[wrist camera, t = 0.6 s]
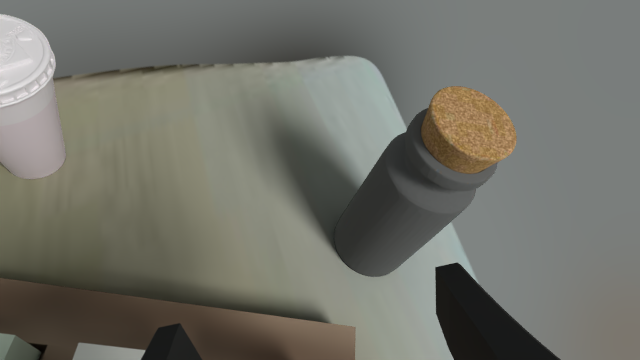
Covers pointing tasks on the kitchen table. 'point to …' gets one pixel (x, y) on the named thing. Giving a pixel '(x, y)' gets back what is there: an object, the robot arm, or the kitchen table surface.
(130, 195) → the kitchen table surface
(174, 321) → the brown wooden tray
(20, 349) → the green cube
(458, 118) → the bottle
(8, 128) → the smoothie
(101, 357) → the white cube
